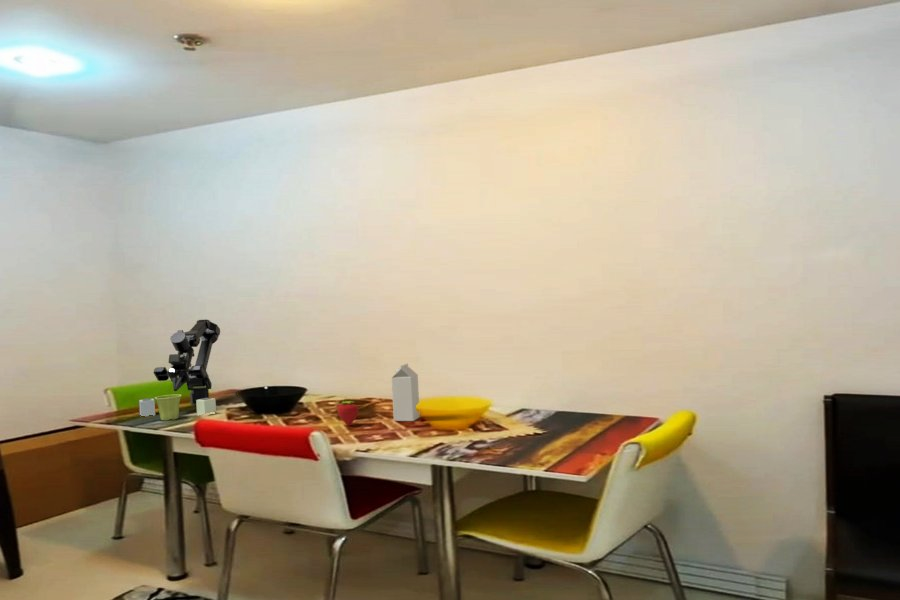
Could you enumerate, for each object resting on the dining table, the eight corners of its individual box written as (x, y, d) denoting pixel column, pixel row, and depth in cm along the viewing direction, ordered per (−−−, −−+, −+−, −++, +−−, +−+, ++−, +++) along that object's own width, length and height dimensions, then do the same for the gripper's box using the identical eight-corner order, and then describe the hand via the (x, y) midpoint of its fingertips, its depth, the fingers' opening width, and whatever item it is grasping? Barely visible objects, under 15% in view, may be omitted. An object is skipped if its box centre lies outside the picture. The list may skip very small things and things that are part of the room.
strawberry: (352, 428, 223) (351, 398, 223) (334, 427, 227) (332, 397, 226) (363, 424, 229) (361, 395, 228) (344, 423, 232) (343, 394, 232)
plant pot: (150, 421, 253) (149, 398, 253) (166, 416, 262) (165, 394, 262) (172, 421, 250) (171, 398, 250) (187, 416, 260) (186, 394, 259)
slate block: (153, 413, 271) (152, 397, 271) (155, 415, 266) (154, 399, 266) (140, 415, 268) (139, 399, 268) (141, 417, 264) (140, 400, 264)
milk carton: (419, 417, 237) (417, 363, 237) (413, 421, 230) (410, 365, 230) (400, 417, 239) (398, 363, 238) (393, 421, 232) (390, 365, 232)
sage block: (208, 413, 266) (207, 397, 266) (216, 414, 263) (215, 397, 263) (197, 415, 262) (196, 399, 261) (204, 416, 259) (204, 400, 259)
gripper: (153, 347, 267) (143, 379, 257) (201, 345, 268) (193, 377, 257) (163, 364, 276) (153, 396, 265) (209, 362, 276) (201, 394, 265)
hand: (175, 390), depth 263 cm, fingers closed
